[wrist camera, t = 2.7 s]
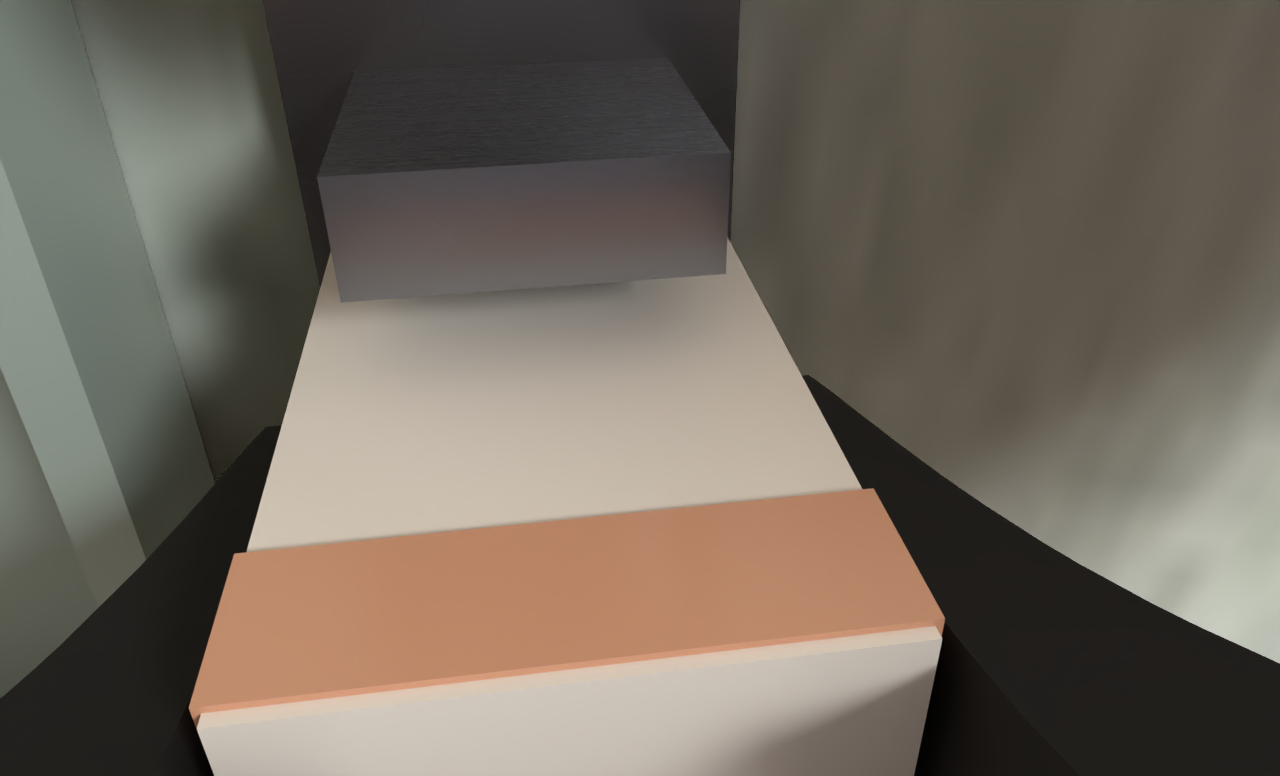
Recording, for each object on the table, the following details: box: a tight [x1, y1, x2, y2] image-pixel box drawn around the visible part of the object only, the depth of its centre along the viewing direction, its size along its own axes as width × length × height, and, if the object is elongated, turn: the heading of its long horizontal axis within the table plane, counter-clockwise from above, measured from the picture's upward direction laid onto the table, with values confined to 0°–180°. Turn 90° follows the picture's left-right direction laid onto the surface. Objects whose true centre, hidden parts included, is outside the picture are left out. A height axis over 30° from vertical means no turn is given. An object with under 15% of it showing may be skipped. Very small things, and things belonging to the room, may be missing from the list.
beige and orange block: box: [189, 237, 945, 776], centre depth 9 cm, size 4×4×6 cm
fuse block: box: [263, 0, 740, 302], centre depth 10 cm, size 4×19×4 cm, turn 1°
